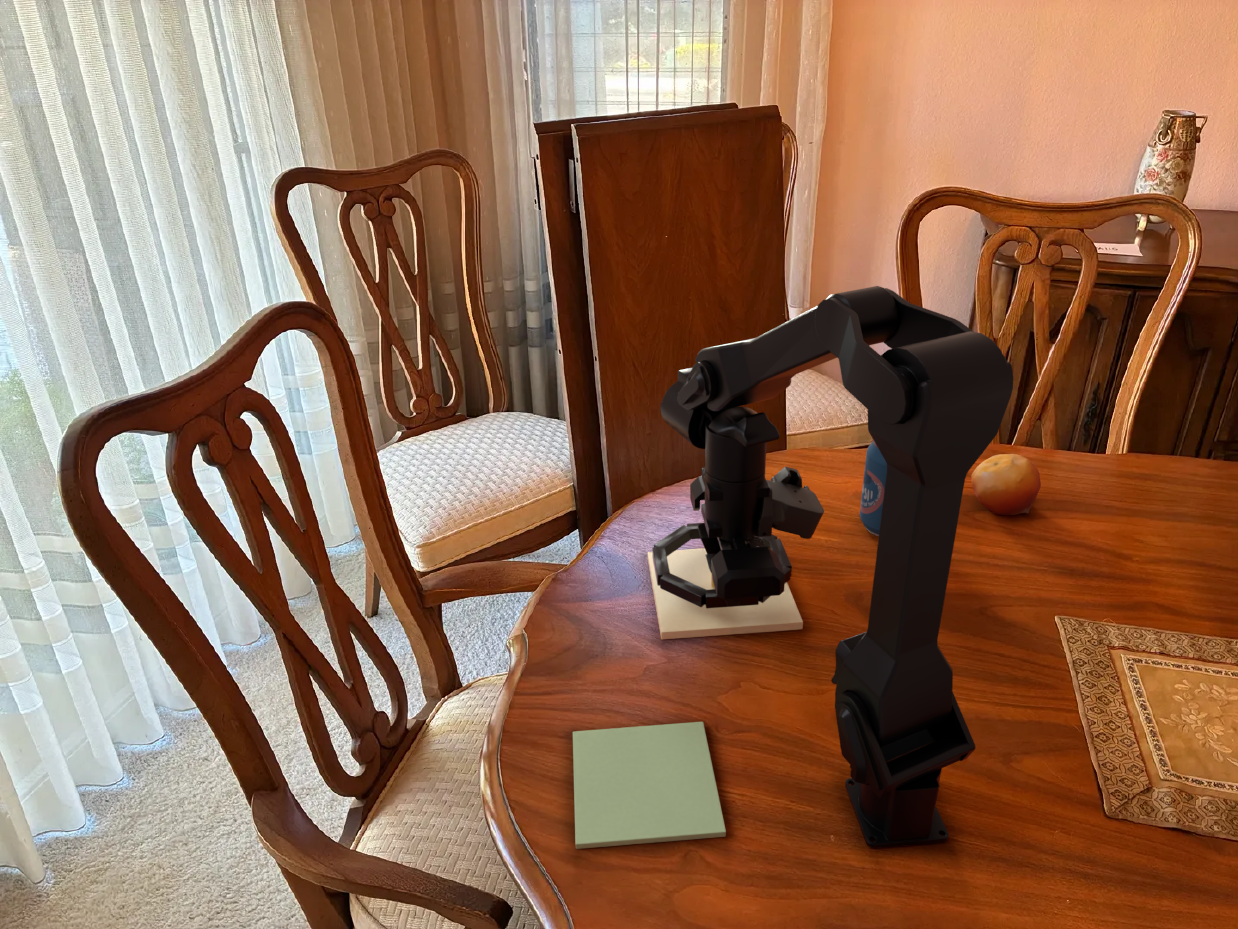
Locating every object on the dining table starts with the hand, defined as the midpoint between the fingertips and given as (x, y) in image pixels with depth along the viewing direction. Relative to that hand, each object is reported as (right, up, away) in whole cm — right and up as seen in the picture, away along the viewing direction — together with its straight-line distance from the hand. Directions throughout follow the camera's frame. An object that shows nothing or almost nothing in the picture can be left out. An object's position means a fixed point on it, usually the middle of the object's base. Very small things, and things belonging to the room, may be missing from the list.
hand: (731, 600), depth 89 cm
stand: (0, 0, +8) cm, 8 cm away
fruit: (+38, +9, +22) cm, 44 cm away
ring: (0, +3, +6) cm, 7 cm away
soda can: (+22, +6, +18) cm, 29 cm away
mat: (-10, -13, -16) cm, 23 cm away
